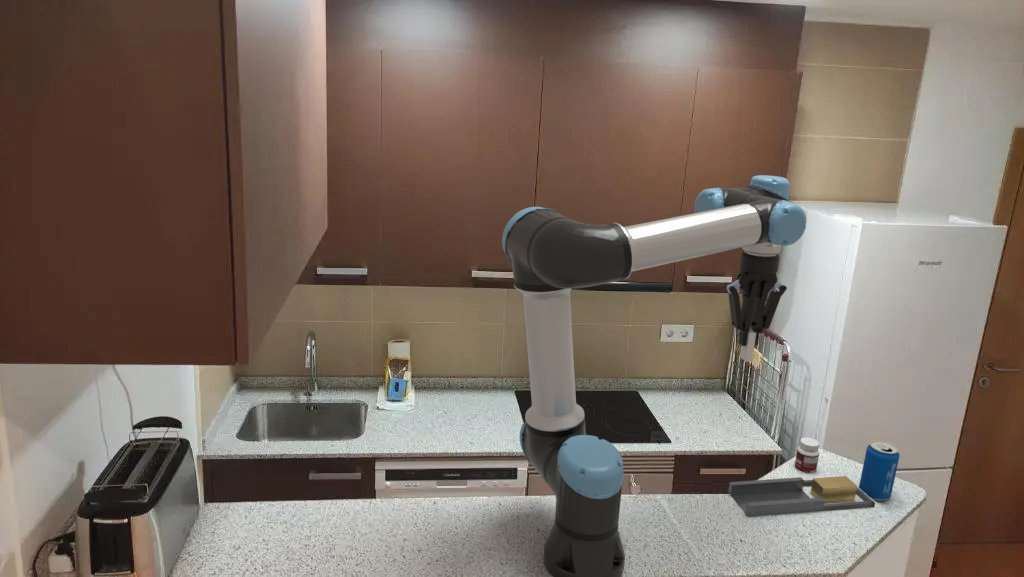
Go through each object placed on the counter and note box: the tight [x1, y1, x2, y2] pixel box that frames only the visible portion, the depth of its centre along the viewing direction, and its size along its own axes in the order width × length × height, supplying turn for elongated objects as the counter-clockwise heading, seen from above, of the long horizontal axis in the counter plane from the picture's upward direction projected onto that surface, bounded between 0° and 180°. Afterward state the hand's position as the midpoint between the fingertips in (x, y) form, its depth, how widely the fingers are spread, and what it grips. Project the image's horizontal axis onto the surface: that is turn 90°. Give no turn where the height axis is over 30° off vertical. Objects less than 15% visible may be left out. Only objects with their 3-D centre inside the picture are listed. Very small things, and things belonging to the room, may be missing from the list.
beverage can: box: [858, 439, 900, 502], centre depth 157 cm, size 6×6×12 cm
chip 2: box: [829, 475, 858, 503], centre depth 154 cm, size 4×4×4 cm
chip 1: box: [809, 476, 841, 504], centre depth 154 cm, size 4×4×4 cm
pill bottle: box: [794, 437, 820, 474], centre depth 165 cm, size 5×5×8 cm
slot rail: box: [727, 476, 826, 518], centre depth 152 cm, size 17×9×4 cm, turn 100°
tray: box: [803, 479, 876, 512], centre depth 155 cm, size 12×10×2 cm
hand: (745, 359), depth 152 cm, fingers closed
